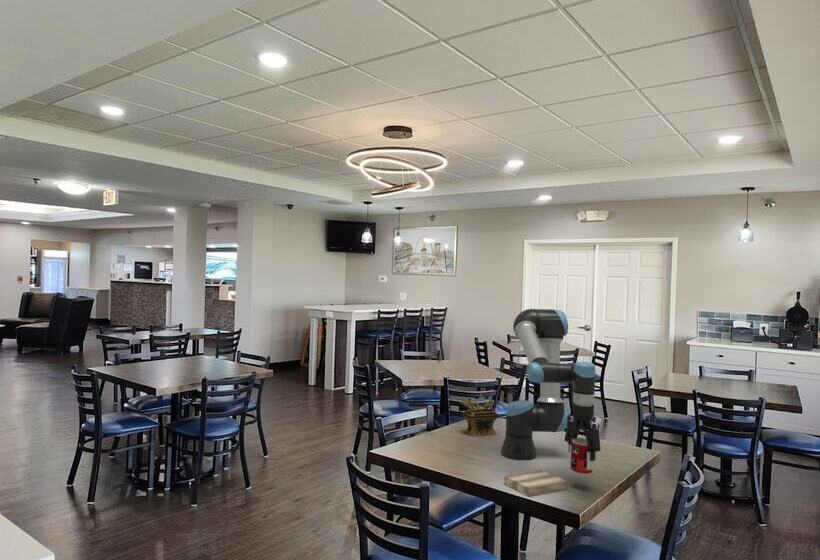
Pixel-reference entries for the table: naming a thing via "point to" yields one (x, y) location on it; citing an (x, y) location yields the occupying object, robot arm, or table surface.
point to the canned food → (579, 455)
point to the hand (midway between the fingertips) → (581, 465)
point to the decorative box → (480, 418)
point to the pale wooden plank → (535, 483)
